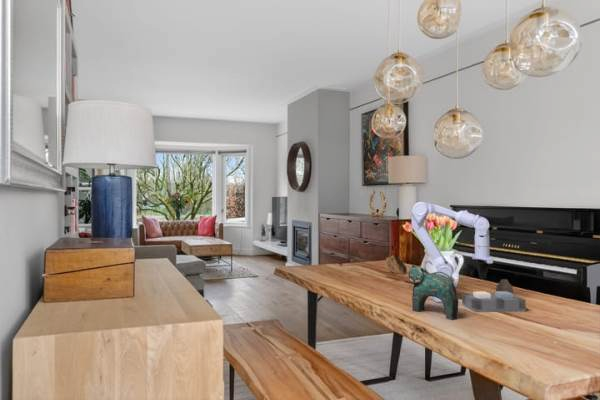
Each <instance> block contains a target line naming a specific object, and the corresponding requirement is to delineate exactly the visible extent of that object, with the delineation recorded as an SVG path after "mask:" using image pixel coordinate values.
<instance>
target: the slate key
mask: <svg viewBox="0 0 600 400" xmlns="http://www.w3.org/2000/svg"><path fill="white" fill-rule="evenodd" d="M494 293H495V296H497V297H499V298H513V295H514V293H513V294H512V293H510V292H507V291H496V290H495V291H494Z"/></svg>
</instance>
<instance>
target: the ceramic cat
mask: <svg viewBox="0 0 600 400" xmlns="http://www.w3.org/2000/svg"><path fill="white" fill-rule="evenodd" d="M427 263H429V264H431V266H433V265H434V263H432V261H429V260H426V261H425V263H424V265H426V264H427ZM437 273H442V274H445V275H447V274H446V273H443V272H437V271H434V272H429V271H428V270H427V268H426V267H421V266H420V267H419V266H418V267H417V266H416V265H415V264H412V265H411V268H410V270H408V280H409V282H411V283H412V284H413V287H412V297H411V301H412V303H411V304H412V309H411V310H412V311H414V312H417V313H419V312H420V313H421V312H425V304H426V301H427V299H428V298H429V297H431V296H432V297H436V298H439V299H440V300H441V301H442V302H441V303H442V306H443V309H444V313H445V318H446V319H447V320H451V321H455V320H457V318H458V312H459V299H458V292H457V287H456V285H455V282H454V283H453V281H452V279H451V277H450V276H449V275H447V276H448V277H449V278H450V279H451V280H450V279H449V278H448V277H446V276H444V275H441V274H437Z"/></svg>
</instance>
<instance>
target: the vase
mask: <svg viewBox="0 0 600 400" xmlns="http://www.w3.org/2000/svg"><path fill="white" fill-rule="evenodd" d="M495 291H507V292H510V293H512V294H513V295H514V289H513V286H512V284H511V283H510V282H509V280H508V279H507V278H503V279H501V280H500V281H499V283H498V284H497V285H496V287H495Z"/></svg>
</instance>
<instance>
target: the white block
mask: <svg viewBox="0 0 600 400" xmlns="http://www.w3.org/2000/svg"><path fill="white" fill-rule="evenodd" d="M472 294H473V296H474V297H476V298H491V294H490V293H489V292H487V291H472Z"/></svg>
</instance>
